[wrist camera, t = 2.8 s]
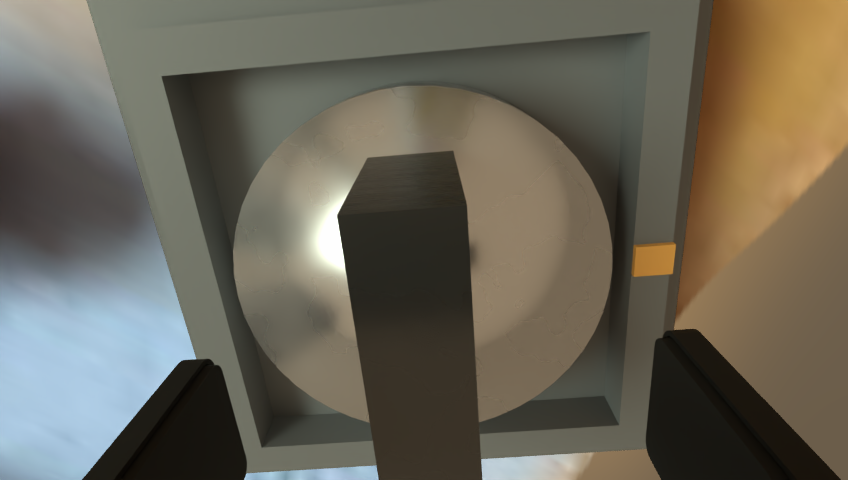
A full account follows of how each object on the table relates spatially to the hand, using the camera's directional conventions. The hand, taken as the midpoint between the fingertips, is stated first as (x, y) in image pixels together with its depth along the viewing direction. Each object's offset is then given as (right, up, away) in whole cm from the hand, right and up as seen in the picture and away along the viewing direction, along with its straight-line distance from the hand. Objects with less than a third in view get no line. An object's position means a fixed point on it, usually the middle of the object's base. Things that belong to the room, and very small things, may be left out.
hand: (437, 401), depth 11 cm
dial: (0, +3, +6) cm, 7 cm away
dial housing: (0, +3, +8) cm, 9 cm away
